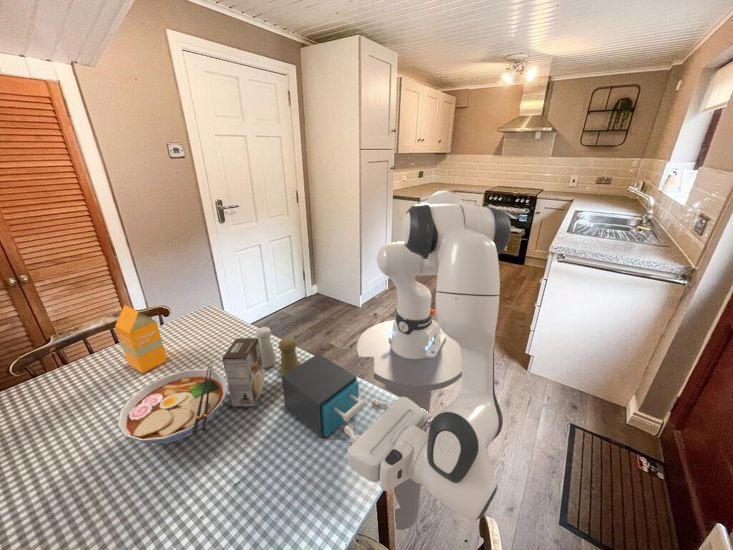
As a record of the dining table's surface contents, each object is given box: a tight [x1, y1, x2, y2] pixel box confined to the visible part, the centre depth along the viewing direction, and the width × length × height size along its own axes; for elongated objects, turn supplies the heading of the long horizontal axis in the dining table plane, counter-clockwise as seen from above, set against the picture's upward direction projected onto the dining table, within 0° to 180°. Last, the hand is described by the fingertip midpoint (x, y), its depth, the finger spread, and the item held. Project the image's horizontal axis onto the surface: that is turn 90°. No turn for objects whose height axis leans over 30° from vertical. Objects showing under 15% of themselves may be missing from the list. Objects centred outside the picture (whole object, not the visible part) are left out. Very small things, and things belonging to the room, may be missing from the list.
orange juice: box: [114, 304, 168, 374], centre depth 95 cm, size 8×9×20 cm
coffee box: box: [222, 337, 266, 407], centre depth 83 cm, size 9×6×16 cm
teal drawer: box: [322, 380, 367, 437], centre depth 77 cm, size 18×11×9 cm, turn 50°
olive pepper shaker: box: [278, 337, 300, 376], centre depth 94 cm, size 6×6×11 cm
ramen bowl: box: [117, 361, 228, 445], centre depth 75 cm, size 25×23×8 cm
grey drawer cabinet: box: [281, 353, 357, 439], centre depth 79 cm, size 15×13×11 cm
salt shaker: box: [255, 326, 277, 369], centre depth 96 cm, size 6×6×13 cm
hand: (360, 414), depth 70 cm, fingers open, 8 cm apart
